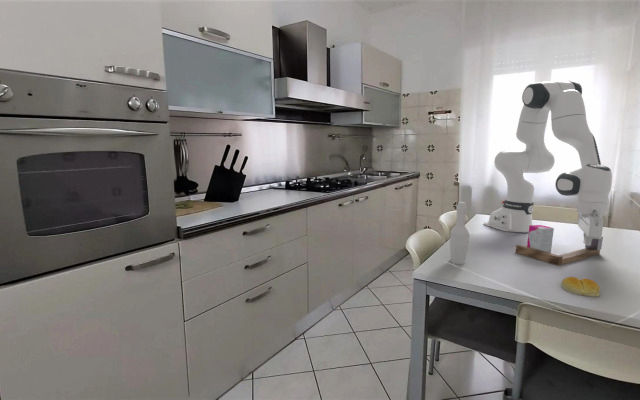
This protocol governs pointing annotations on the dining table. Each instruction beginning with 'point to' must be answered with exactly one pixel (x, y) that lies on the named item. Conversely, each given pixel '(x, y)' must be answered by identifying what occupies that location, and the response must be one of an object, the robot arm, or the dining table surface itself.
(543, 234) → the supplement box
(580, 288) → the bread roll
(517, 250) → the l-shaped wooden bracket
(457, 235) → the faceted bottle
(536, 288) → the dining table surface
